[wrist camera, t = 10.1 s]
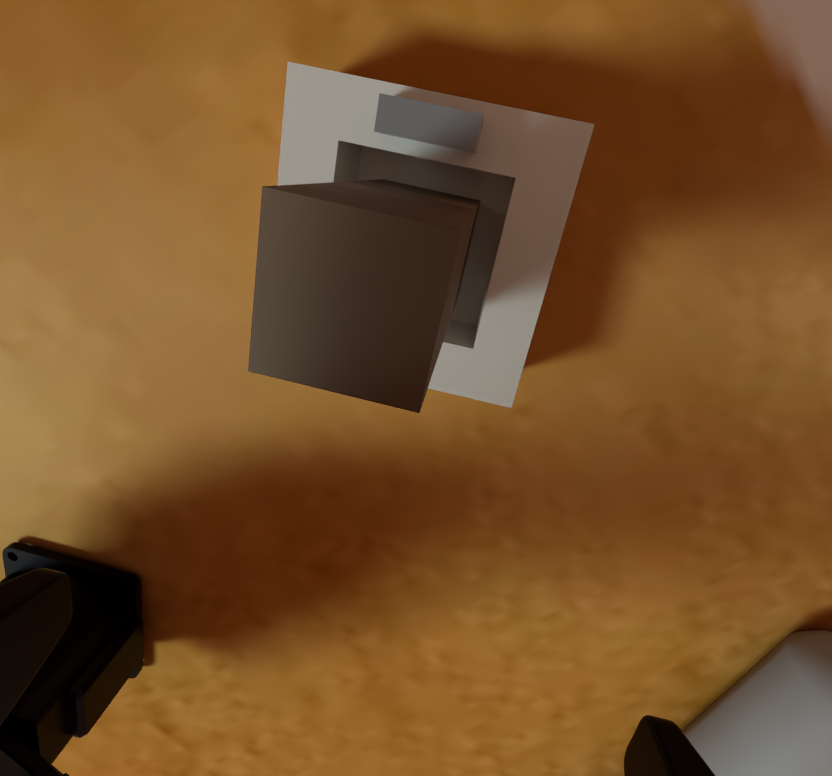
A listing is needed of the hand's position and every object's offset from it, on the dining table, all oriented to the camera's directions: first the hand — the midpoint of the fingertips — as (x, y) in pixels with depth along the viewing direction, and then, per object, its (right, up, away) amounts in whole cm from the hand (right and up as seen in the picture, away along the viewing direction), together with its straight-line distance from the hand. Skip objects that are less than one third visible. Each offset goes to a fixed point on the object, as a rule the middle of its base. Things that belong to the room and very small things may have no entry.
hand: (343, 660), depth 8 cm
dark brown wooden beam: (+1, +9, +9) cm, 12 cm away
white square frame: (+1, +9, +9) cm, 13 cm away
